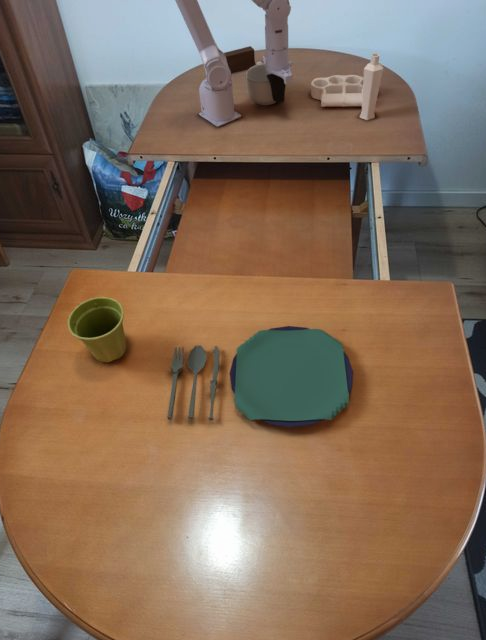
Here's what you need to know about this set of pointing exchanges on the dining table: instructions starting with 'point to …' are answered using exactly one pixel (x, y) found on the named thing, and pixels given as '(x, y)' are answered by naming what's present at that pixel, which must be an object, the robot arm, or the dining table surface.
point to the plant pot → (99, 327)
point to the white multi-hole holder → (338, 90)
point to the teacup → (259, 84)
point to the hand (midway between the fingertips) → (278, 100)
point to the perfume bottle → (371, 86)
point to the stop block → (240, 59)
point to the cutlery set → (279, 376)
